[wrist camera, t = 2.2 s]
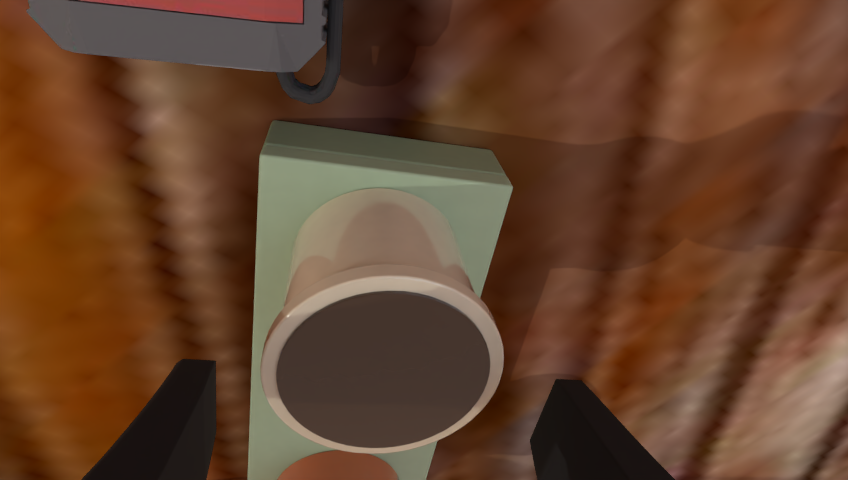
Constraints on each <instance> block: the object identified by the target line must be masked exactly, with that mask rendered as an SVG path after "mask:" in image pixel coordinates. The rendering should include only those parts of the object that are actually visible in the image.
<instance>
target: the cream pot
mask: <svg viewBox="0 0 848 480" xmlns="http://www.w3.org/2000/svg"><path fill="white" fill-rule="evenodd" d="M503 364H504V350H503V344H502V340H501V336H500V333H499V330H498V327H497V324H496V322H495V320H494V318H493V316H492V314H491V312H490V310H489V309H488V308H487V306H486V305H485V303H484V302H483V301H482V300H481V299H480V298H479V297H478V296H477V295H476V294H475V292H474V289H473V286H472V283H471V280H470V277H469V273H468V270H467V267H466V264H465V261H464V258H463V255H462V252H461V249H460V246H459V243H458V240H457V236H456V234H455V232H454V230H453V228H452V226H451V224H450V223H449V221H448V220H447V219H446V217H445V216H444V215H443V214H442V213H441V212H440V211H439V210H438V209H436V208H435V207H434V206H433V205H432V204H430V203H428V202H427V201H425V200H424V199H422V198H419V197H417V196H415V195H413V194H410V193H407V192H403V191H399V190H394V189H385V188H371V189H362V190H356V191H352V192H349V193H346V194H343V195H340V196H338V197H336V198H334V199H332V200H330V201H328V202H327V203H325V204H323V205H322V206H321V207H319V208H318V209H317V210H316V211H314V212H313V213H312V214H311V215H310V216H309V217H308V219H307V220H306V221H305V222H304V224H303V225H302V227H301V228H300V230H299V232H298V234H297V236H296V238H295V241H294V244H293V247H292V253H291V259H290V265H289V271H288V276H287V282H286V288H285V294H284V300H283V306H282V310H281V312H280V313H279V314H278V316H277V317H276V318H275V320H274V322H273V323H272V325H271V327H270V329H269V331H268V334H267V337H266V340H265V343H264V348H263V353H262V359H261V366H260V372H261V382H262V387H263V391H264V393H265V396H266V398H267V400H268V402H269V404H270V406H271V407H272V409H273V410H274V412H275V413H276V414H277V416H278V417H279V418H280V419H281V420H282V421H283V422H284V423H285V424H286V425H287V426H289V427H290V428H291V429H292V430H294V431H295V432H297V433H298V434H300V435H301V436H303V437H305V438H307V439H309V440H311V441H313V442H315V443H318V444H320V445H323V446H326V447H329V448H333V449H337V450H341V451H347V452H353V453H365V454H382V453H393V452H400V451H405V450H410V449H414V448H418V447H421V446H425V445H428V444H430V443H433V442H436V441H438V440H440V439H442V438H444V437H446V436H448V435H450V434H452V433H454V432H455V431H457V430H459V429H460V428H462V427H463V426H464V425H466V424H467V423H468V422H470V421H471V420H472V419H473V418H474V417H475V416H476V415H477V414H479V413H480V412H481V411H482V409H483V408H484V407H485V406H486V404H487V403H488V402H489V401H490V399H491V397H492V396H493V394H494V393H495V391H496V388H497V386H498V384H499V382H500V378H501V375H502V371H503Z"/></svg>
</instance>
